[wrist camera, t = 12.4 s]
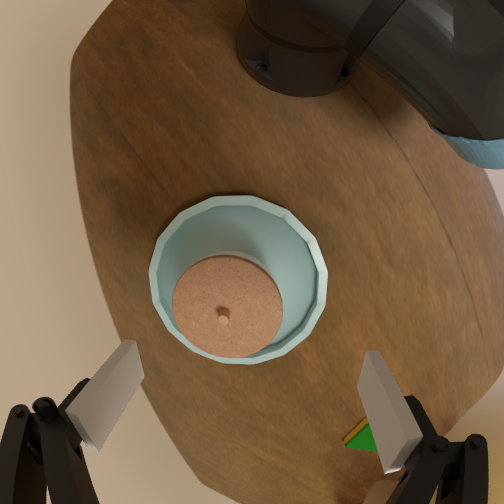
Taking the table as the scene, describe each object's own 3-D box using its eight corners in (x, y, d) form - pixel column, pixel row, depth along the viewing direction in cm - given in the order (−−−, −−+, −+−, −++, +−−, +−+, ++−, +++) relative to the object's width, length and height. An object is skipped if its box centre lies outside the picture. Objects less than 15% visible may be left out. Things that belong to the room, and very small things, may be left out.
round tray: (151, 199, 32) (143, 200, 30) (325, 195, 31) (330, 196, 28) (168, 348, 37) (162, 357, 34) (316, 353, 35) (318, 363, 33)
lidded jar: (247, 338, 34) (241, 384, 25) (176, 293, 34) (148, 328, 24) (298, 274, 32) (309, 307, 23) (221, 222, 31) (202, 236, 22)
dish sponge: (390, 445, 41) (393, 452, 39) (342, 438, 40) (344, 447, 38) (413, 423, 39) (416, 431, 37) (365, 415, 39) (368, 424, 36)
